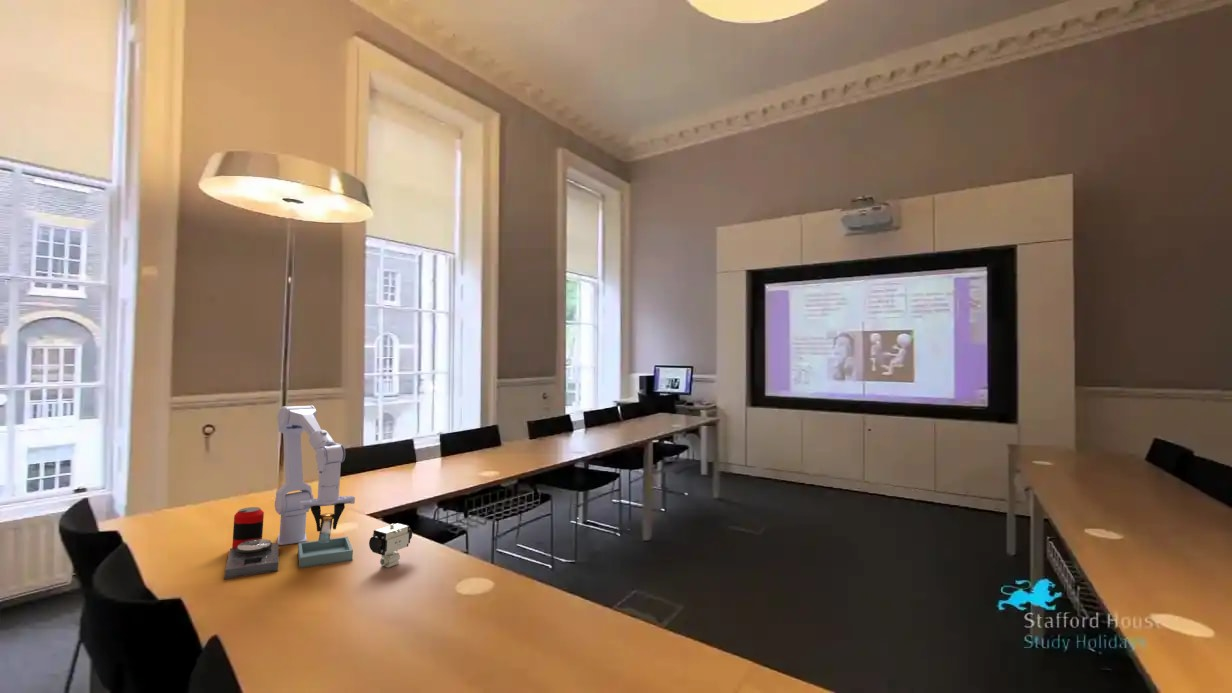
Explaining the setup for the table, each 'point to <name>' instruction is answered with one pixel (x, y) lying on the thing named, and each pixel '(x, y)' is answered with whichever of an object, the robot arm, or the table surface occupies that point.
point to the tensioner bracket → (252, 558)
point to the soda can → (247, 525)
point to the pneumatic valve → (390, 542)
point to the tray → (324, 552)
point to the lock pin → (325, 527)
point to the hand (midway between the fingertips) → (326, 529)
